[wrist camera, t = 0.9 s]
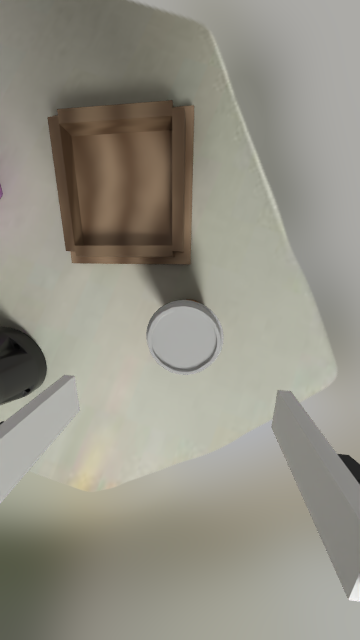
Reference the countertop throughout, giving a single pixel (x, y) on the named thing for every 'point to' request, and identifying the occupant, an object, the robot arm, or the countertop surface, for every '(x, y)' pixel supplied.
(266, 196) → the countertop surface
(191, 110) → the cup caddy
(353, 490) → the robot arm
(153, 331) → the disposable coffee cup
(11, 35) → the countertop surface
